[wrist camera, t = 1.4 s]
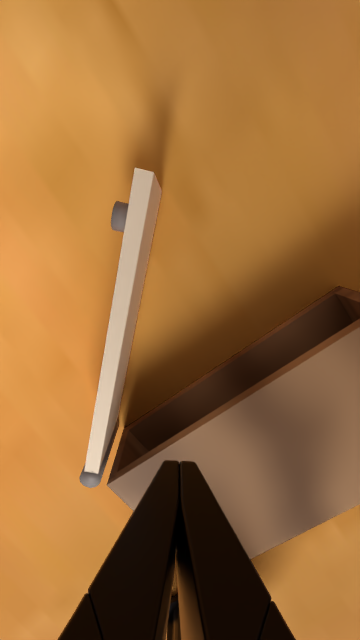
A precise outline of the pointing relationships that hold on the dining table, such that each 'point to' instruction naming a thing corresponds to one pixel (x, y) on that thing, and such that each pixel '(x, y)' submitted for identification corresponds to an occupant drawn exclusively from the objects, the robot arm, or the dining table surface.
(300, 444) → the walnut box
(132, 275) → the door
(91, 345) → the dining table surface
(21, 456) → the dining table surface
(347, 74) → the dining table surface
